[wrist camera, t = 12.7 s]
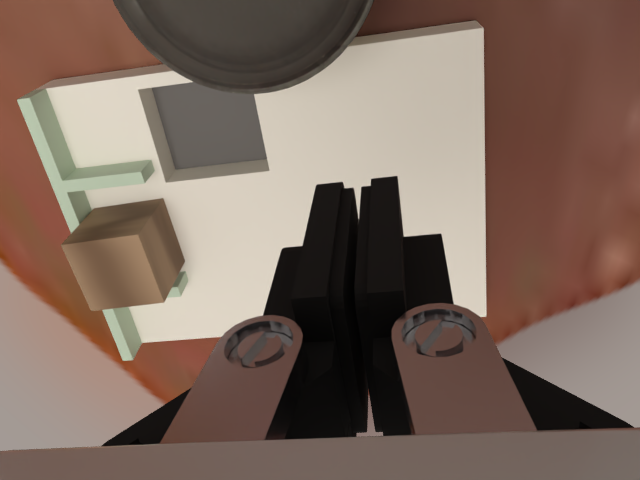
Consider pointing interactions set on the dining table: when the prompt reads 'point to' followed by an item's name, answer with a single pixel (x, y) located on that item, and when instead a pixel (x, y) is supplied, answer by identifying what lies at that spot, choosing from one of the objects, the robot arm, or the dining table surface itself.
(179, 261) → the walnut block
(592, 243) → the dining table surface
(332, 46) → the coffee can
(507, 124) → the dining table surface
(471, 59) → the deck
